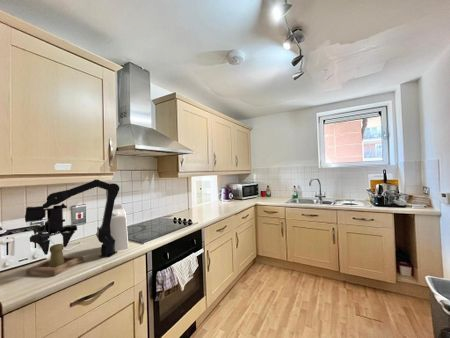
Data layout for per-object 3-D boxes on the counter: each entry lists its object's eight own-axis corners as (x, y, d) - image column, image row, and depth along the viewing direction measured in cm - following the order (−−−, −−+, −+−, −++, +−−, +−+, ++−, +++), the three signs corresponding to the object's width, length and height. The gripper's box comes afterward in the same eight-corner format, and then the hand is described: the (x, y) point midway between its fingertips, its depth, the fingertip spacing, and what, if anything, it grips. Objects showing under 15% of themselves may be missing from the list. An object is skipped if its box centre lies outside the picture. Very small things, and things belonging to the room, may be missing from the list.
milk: (128, 242, 129) (126, 202, 130) (127, 248, 119) (126, 204, 119) (106, 245, 124) (105, 204, 125) (104, 252, 114) (103, 206, 114)
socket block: (58, 260, 105) (58, 255, 105) (83, 261, 103) (83, 256, 103) (26, 274, 90) (26, 269, 90) (54, 276, 88) (54, 270, 88)
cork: (68, 264, 100) (67, 242, 100) (58, 270, 94) (57, 246, 94) (56, 264, 100) (55, 242, 100) (45, 270, 94) (44, 247, 94)
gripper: (59, 214, 107) (60, 243, 107) (19, 223, 89) (19, 258, 89) (77, 214, 106) (78, 243, 105) (40, 223, 87) (40, 259, 87)
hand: (55, 250), depth 97 cm, fingers open, 9 cm apart
